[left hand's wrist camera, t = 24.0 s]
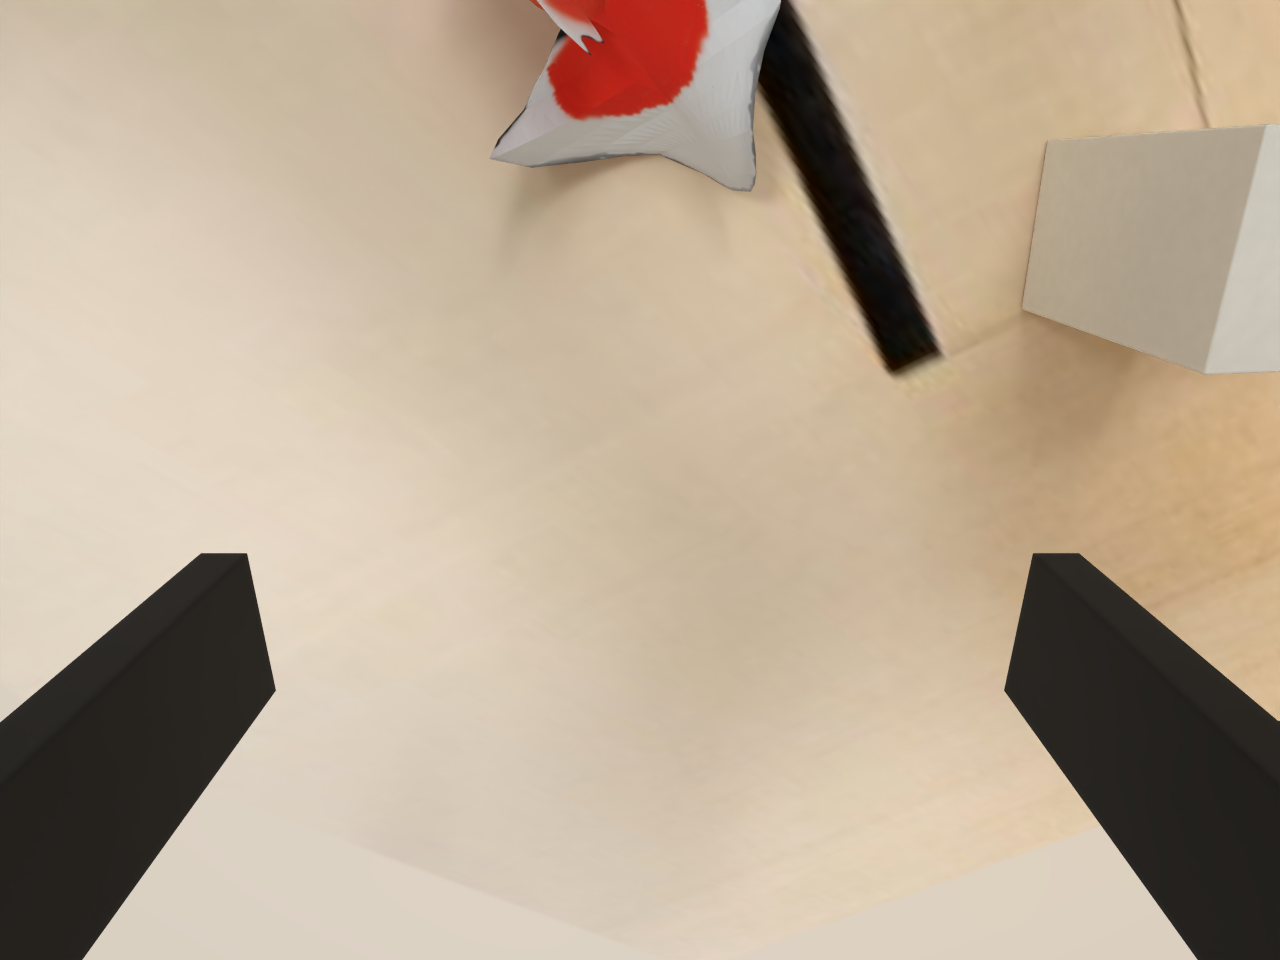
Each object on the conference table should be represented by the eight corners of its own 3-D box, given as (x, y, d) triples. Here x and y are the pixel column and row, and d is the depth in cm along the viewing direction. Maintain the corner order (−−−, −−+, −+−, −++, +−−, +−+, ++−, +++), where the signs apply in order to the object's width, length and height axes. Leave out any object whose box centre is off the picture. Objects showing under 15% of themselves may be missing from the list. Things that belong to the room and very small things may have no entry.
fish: (708, -435, 21) (666, -395, 15) (825, 96, 32) (827, 238, 26) (403, -244, 25) (278, -154, 19) (600, 168, 36) (558, 306, 31)
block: (1020, 309, 34) (1204, 375, 23) (1046, 140, 31) (1267, 124, 20) (1157, 304, 34) (1406, 367, 23) (1195, 134, 31) (1495, 115, 20)
